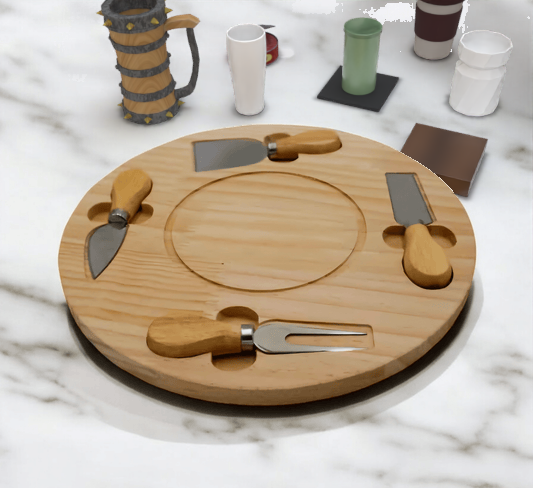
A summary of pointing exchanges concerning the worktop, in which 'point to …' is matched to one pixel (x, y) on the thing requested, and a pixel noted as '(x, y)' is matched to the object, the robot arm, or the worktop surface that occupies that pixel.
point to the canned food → (270, 46)
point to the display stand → (447, 154)
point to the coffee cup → (436, 27)
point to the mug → (148, 57)
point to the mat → (367, 101)
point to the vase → (479, 72)
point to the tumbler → (360, 55)
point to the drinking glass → (247, 66)
